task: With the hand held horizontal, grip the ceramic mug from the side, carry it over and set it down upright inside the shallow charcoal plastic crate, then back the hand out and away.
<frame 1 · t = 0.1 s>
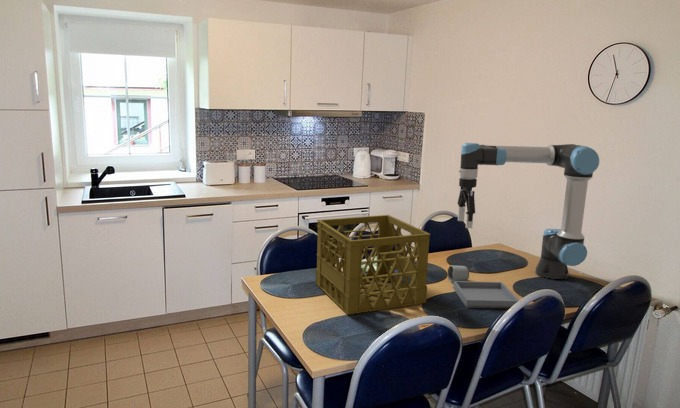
hand: (464, 224, 230), 28 cm above the table, tool pointing down, fingers open, 13 cm apart
dish towel: (377, 266, 258), on the table
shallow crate: (484, 297, 219), on the table
ceramic mug: (456, 280, 239), on the table
milk crate: (368, 294, 219), on the table
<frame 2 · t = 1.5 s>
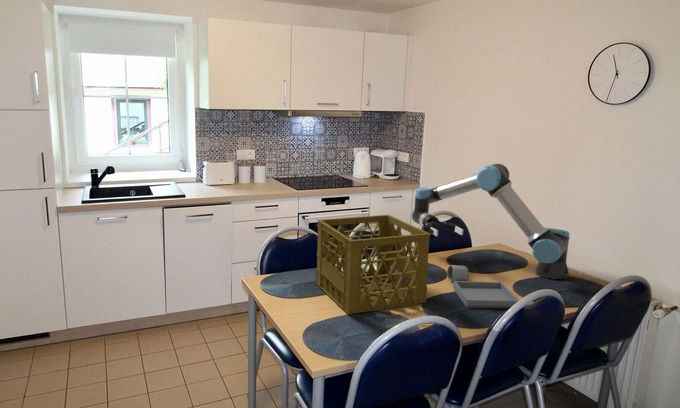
hand: (450, 232, 243), 21 cm above the table, tool horizontal, fingers open, 13 cm apart
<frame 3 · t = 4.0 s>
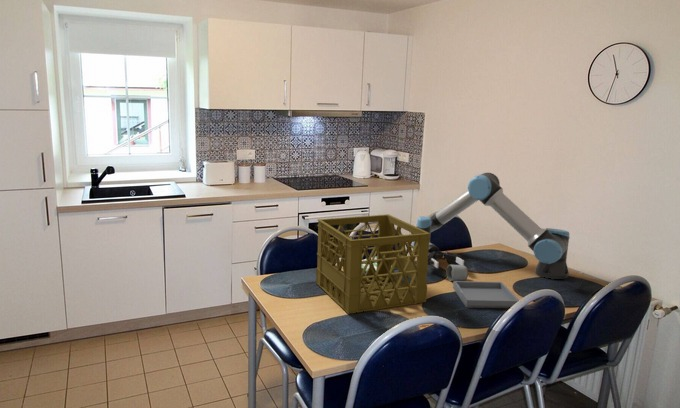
hand: (450, 264, 243), 6 cm above the table, tool horizontal, fingers open, 13 cm apart
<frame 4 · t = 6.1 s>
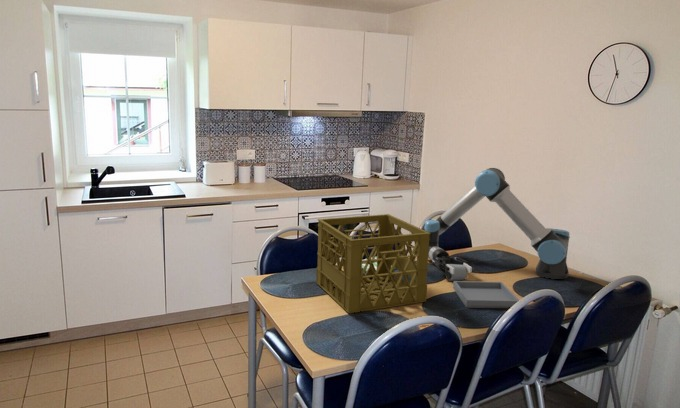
hand: (462, 270, 234), 6 cm above the table, tool horizontal, fingers closed on ceramic mug, 8 cm apart
ceramic mug: (454, 279, 241), on the table, touching gripper
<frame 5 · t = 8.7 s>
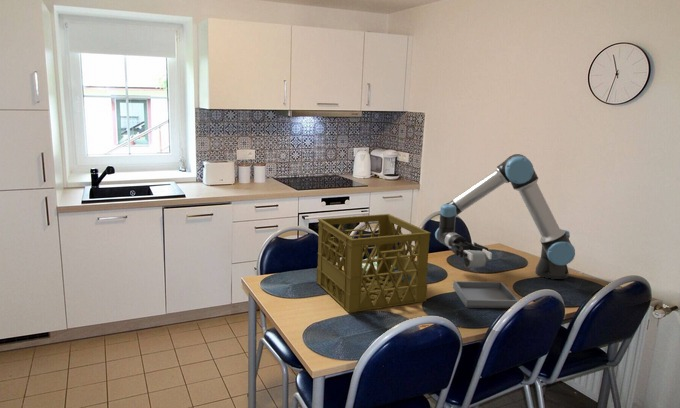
hand: (481, 256, 217), 18 cm above the table, tool horizontal, fingers closed on ceramic mug, 8 cm apart
ceramic mug: (472, 266, 224), point 11 cm above the table, touching gripper
when the fingers open (8 cm above the table, at t = 11.4 s): ceramic mug drops 1 cm, resting on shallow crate.
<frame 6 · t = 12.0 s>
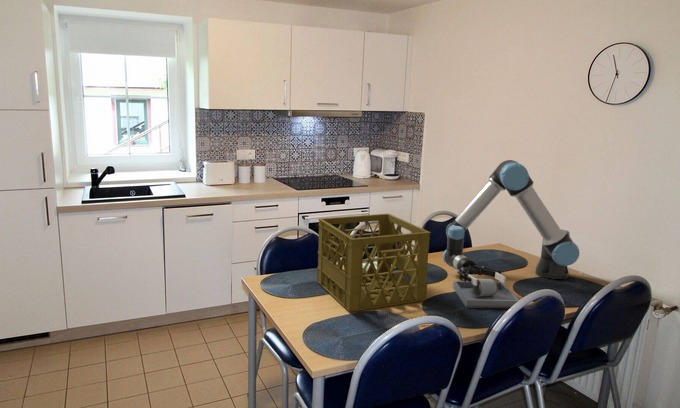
hand: (490, 281, 214), 8 cm above the table, tool horizontal, fingers open, 13 cm apart
ceramic mug: (482, 295, 220), point 1 cm above the table, touching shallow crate
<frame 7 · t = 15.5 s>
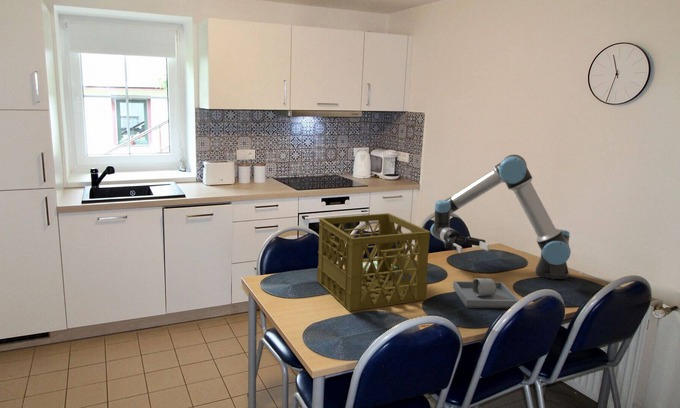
hand: (474, 249, 224), 19 cm above the table, tool horizontal, fingers open, 13 cm apart
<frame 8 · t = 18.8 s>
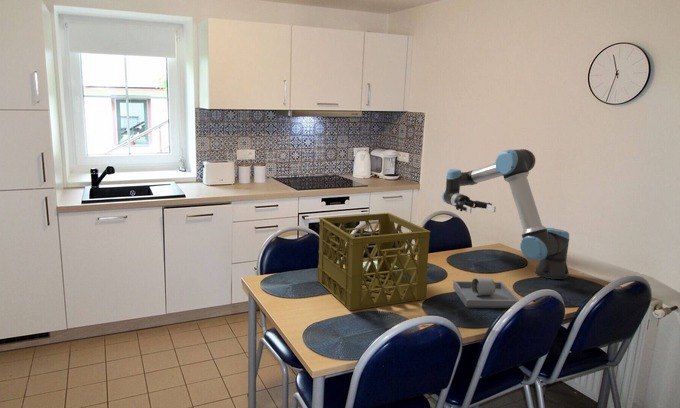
hand: (482, 209, 252), 30 cm above the table, tool horizontal, fingers open, 13 cm apart
at the end: ceramic mug inside the target area on the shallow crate (2.6 cm from its centre), point 0.6 cm above the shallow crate's base; ceramic mug tilted 1°; the gripper is holding nothing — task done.
